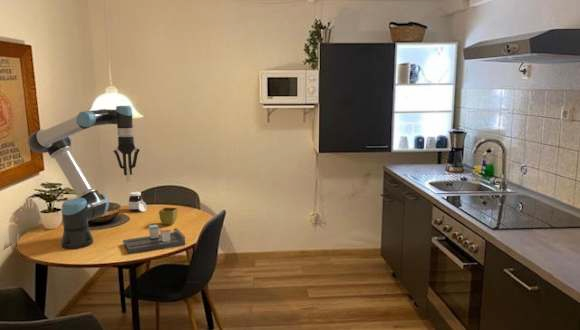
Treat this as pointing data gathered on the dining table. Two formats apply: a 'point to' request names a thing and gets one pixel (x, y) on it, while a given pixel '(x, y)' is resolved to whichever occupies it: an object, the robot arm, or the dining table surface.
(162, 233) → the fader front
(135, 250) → the grey tray
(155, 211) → the dining table surface
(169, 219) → the flower pot
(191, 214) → the dining table surface
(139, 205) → the spread jar
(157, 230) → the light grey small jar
